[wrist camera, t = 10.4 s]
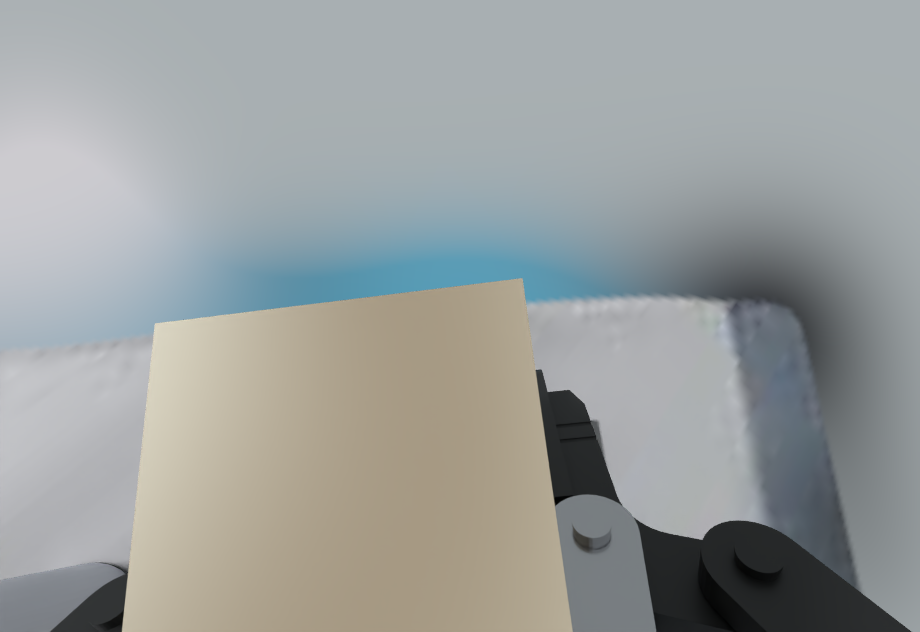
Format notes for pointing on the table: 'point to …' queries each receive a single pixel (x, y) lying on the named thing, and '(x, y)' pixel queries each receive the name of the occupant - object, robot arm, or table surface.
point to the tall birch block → (348, 471)
